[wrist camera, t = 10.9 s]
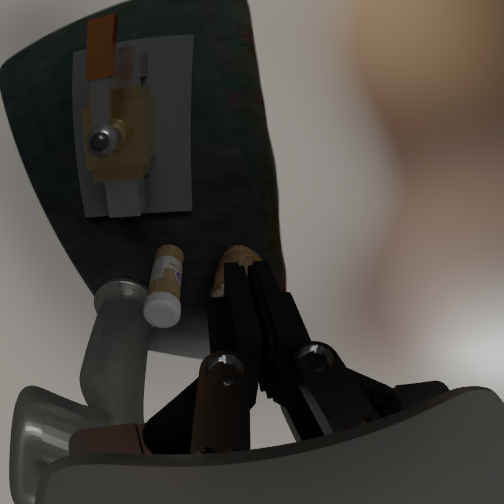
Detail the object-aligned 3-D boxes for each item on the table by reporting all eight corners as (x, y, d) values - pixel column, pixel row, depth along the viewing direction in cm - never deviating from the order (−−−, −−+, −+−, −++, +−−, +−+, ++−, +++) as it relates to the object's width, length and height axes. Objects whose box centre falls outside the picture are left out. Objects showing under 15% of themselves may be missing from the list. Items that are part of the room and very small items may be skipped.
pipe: (219, 317, 51) (224, 359, 43) (202, 241, 42) (203, 281, 34) (267, 308, 52) (280, 349, 44) (261, 231, 43) (276, 268, 35)
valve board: (192, 206, 39) (191, 210, 38) (88, 213, 37) (85, 217, 35) (193, 36, 27) (193, 34, 26) (78, 53, 24) (73, 52, 23)
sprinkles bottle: (189, 258, 44) (188, 319, 32) (167, 272, 44) (160, 334, 33) (171, 237, 41) (162, 295, 30) (149, 253, 42) (134, 312, 30)
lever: (121, 152, 24) (116, 157, 22) (92, 156, 23) (85, 161, 22) (121, 16, 16) (116, 11, 15) (90, 24, 16) (83, 20, 14)
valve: (158, 198, 36) (147, 229, 28) (110, 202, 35) (88, 233, 27) (156, 50, 26) (140, 35, 18) (103, 58, 25) (73, 49, 17)
